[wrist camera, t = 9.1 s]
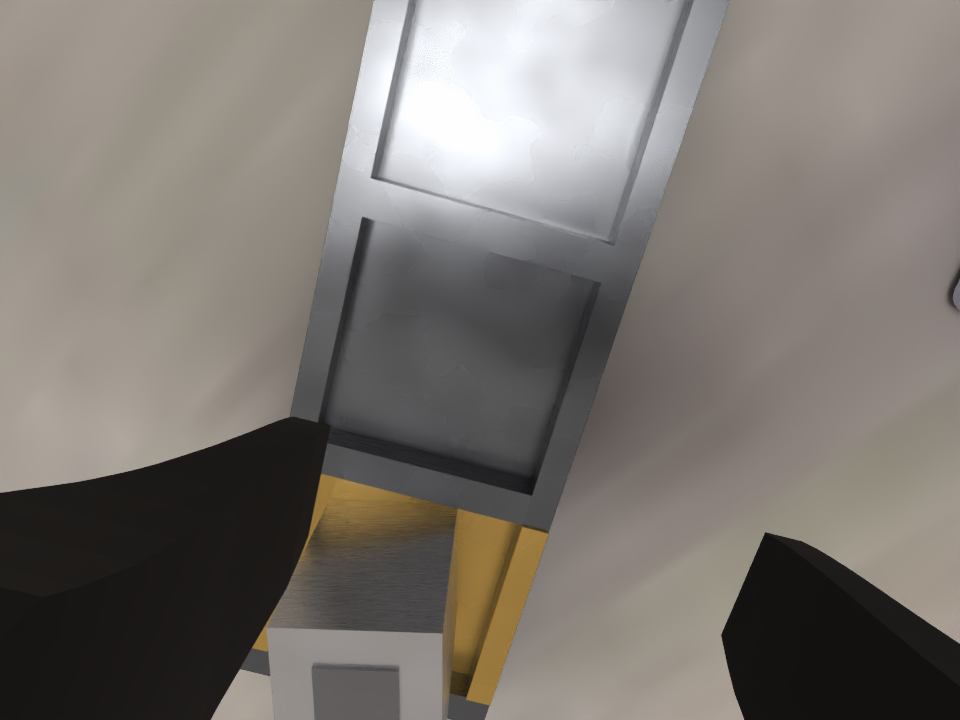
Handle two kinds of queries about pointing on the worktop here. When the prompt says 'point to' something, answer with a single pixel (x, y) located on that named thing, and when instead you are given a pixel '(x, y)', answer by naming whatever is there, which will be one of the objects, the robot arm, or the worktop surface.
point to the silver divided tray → (489, 269)
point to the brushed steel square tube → (369, 616)
